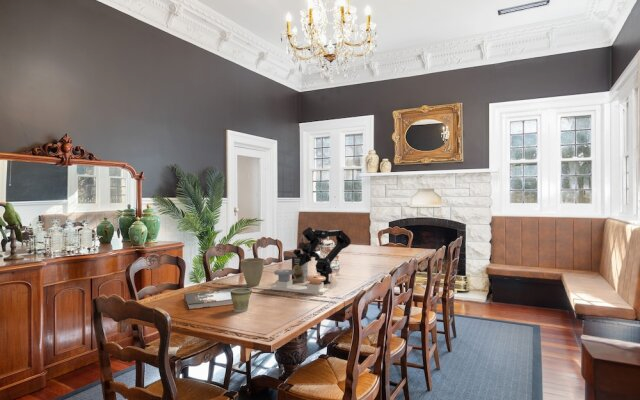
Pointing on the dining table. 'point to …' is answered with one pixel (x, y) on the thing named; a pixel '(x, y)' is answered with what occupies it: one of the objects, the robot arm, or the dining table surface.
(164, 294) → the dining table surface
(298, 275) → the coffee box
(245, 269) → the plant pot
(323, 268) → the robot arm
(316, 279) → the brown round domed piece
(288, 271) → the two dot key
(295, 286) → the key console
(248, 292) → the ceramic cup
